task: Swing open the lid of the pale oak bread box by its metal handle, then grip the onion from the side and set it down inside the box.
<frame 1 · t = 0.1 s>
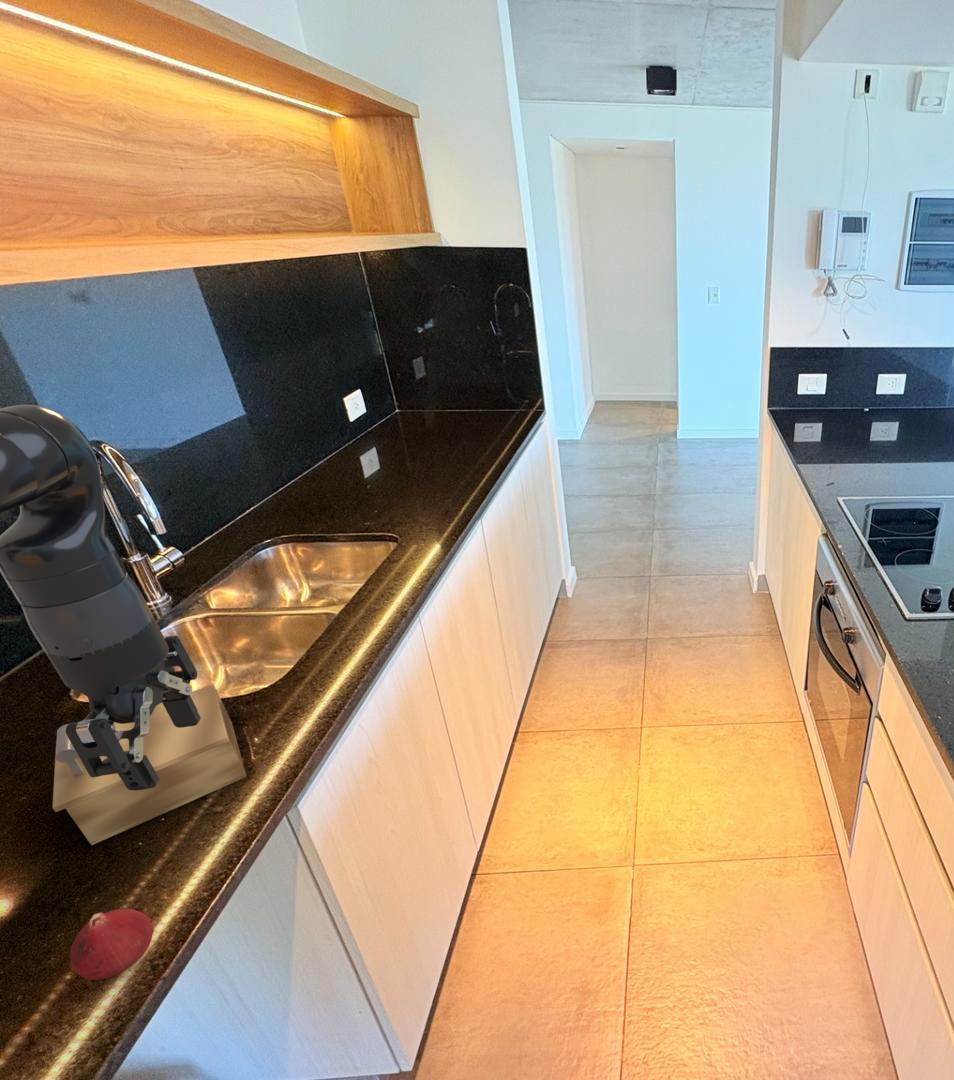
hand: (168, 753, 64), 18 cm above the worktop, tool pointing down, fingers open, 8 cm apart
onion: (129, 965, 63), on the worktop
lid: (136, 728, 79), point 9 cm above the worktop, hinge at 0.0°
breadbox: (169, 778, 83), on the worktop
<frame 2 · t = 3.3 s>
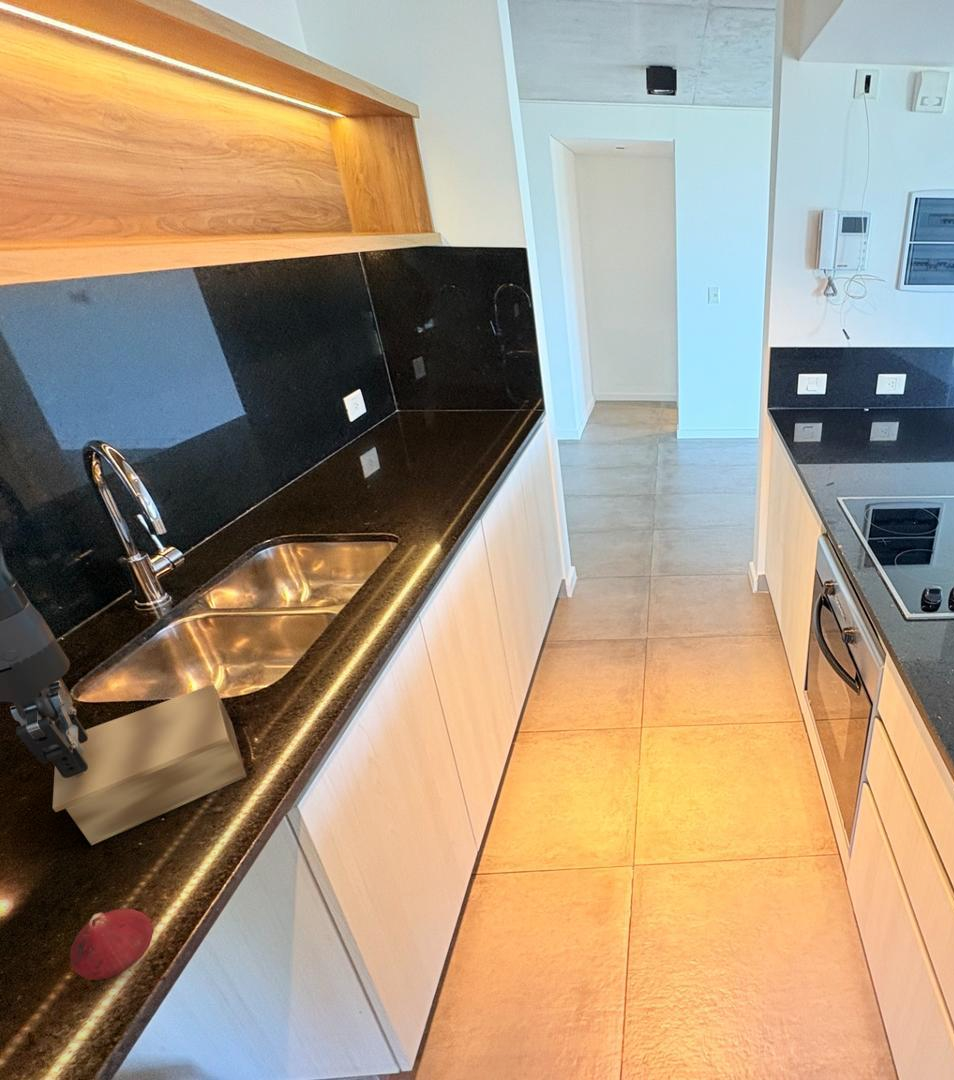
hand: (76, 757, 76), 9 cm above the worktop, tool pointing down, fingers closed on lid, 5 cm apart
lid: (136, 728, 79), point 9 cm above the worktop, hinge at 0.0°, touching gripper
everything else where it was.
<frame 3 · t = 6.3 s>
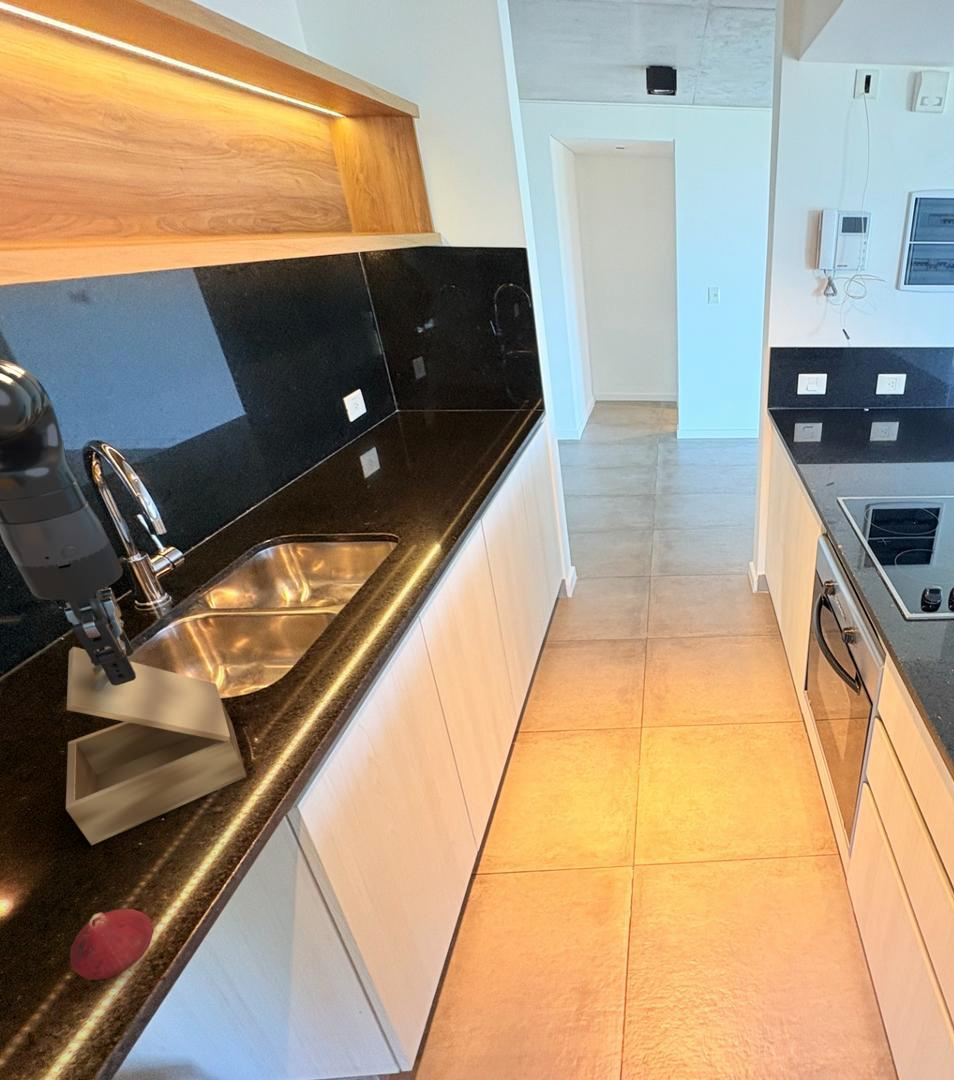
hand: (123, 668, 75), 18 cm above the worktop, tool pointing down, fingers closed on lid, 5 cm apart
lid: (162, 681, 79), point 15 cm above the worktop, hinge at 48.4°, touching gripper
everything else where it was.
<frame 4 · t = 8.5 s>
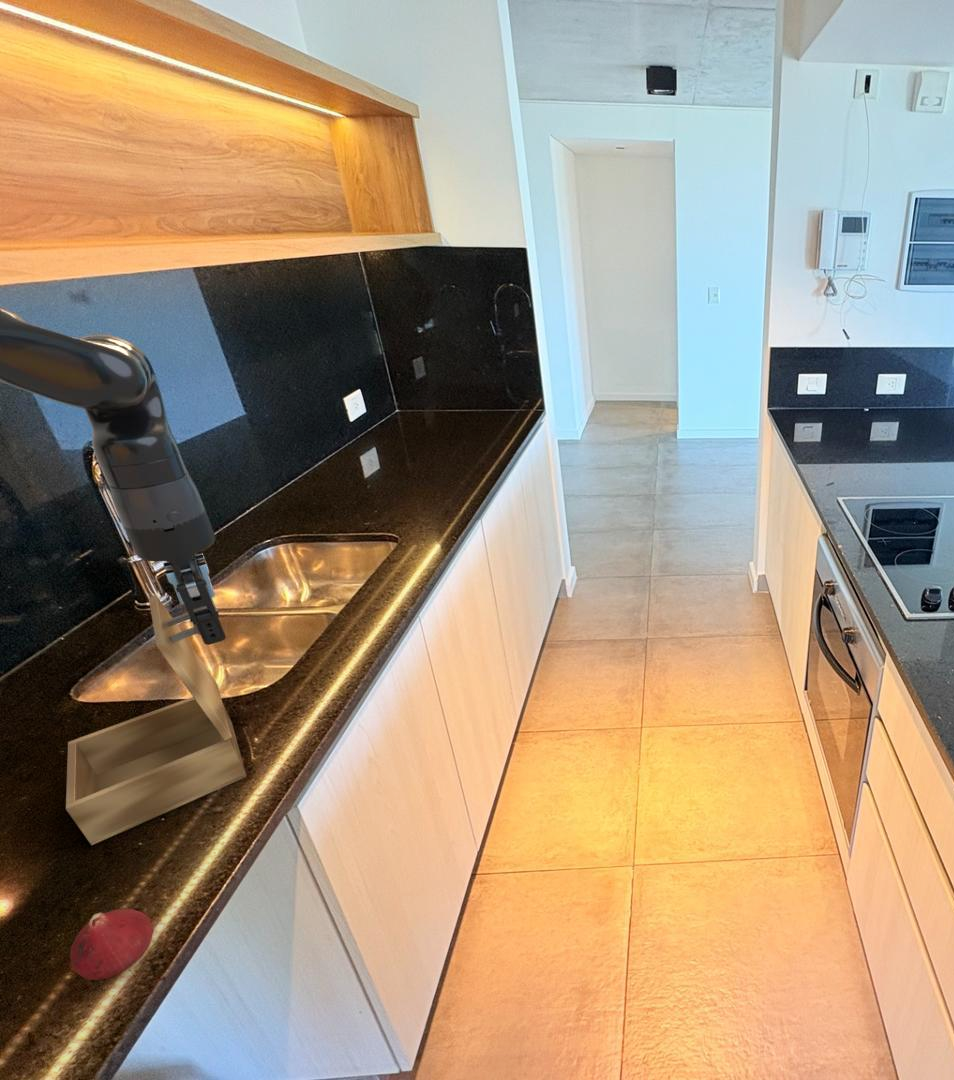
hand: (212, 630, 80), 20 cm above the worktop, tool pointing down, fingers closed on lid, 5 cm apart
lid: (209, 659, 81), point 16 cm above the worktop, hinge at 83.9°, touching gripper
everything else where it was.
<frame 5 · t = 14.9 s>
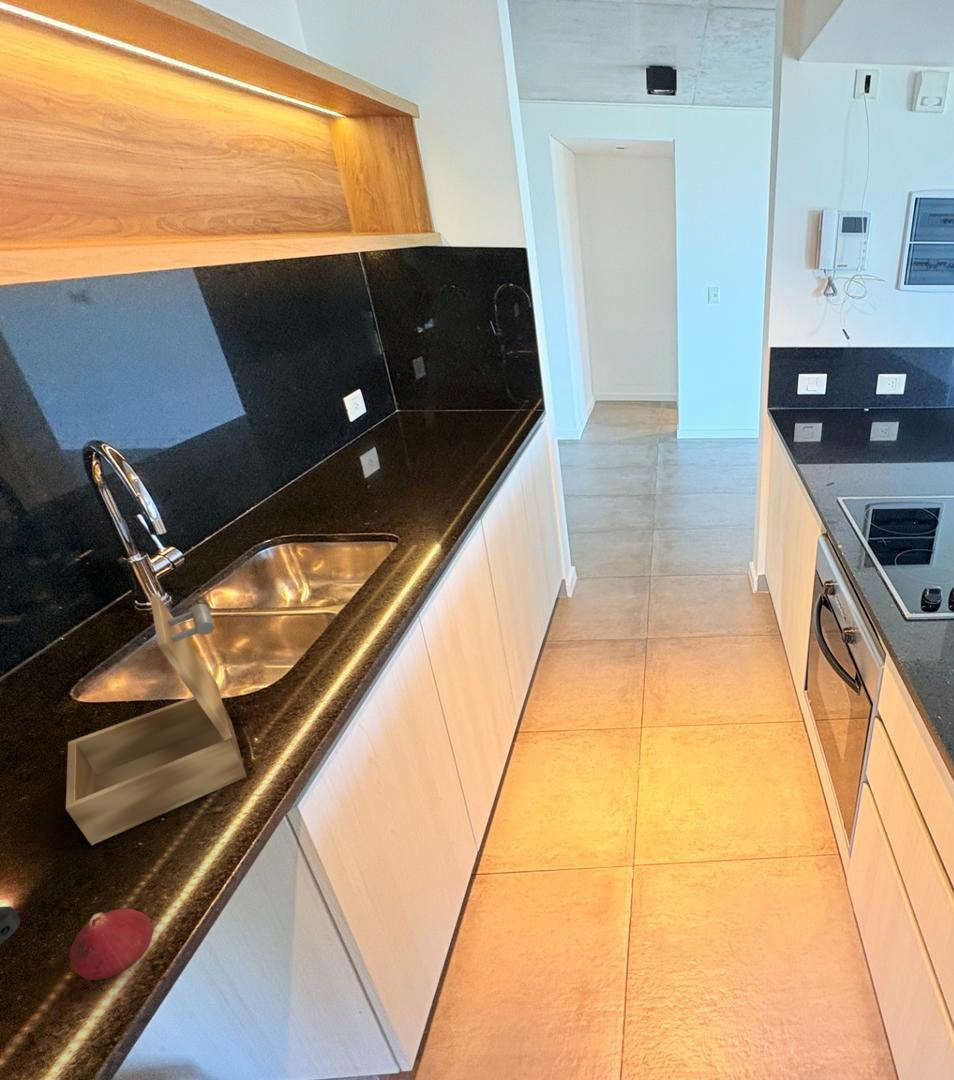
lid: (210, 659, 81), point 16 cm above the worktop, hinge at 84.4°
everything else where it was.
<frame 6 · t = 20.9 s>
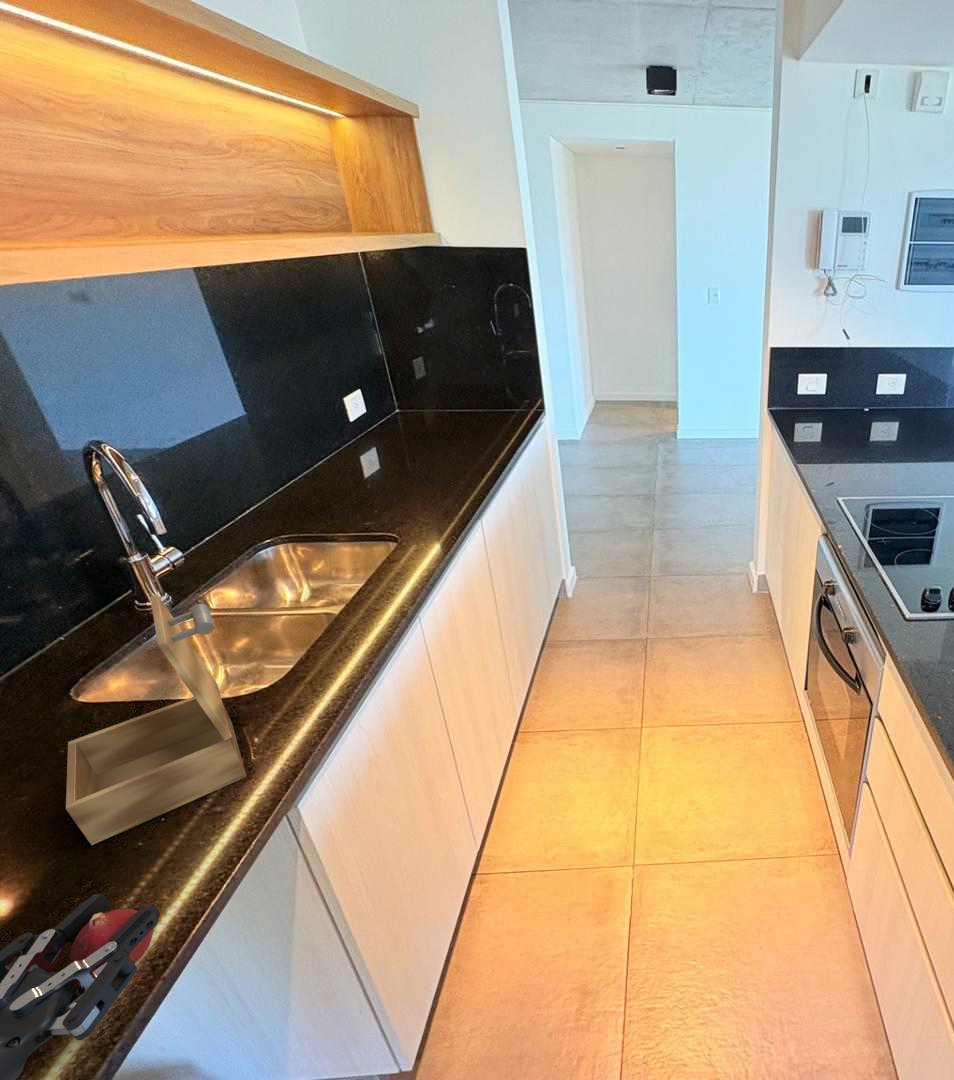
hand: (128, 904, 62), 6 cm above the worktop, tool horizontal, fingers closed on onion, 5 cm apart
onion: (129, 965, 63), on the worktop, touching gripper
everything else where it was.
when the fingers open (11 cm above the worktop, at t = 30.1 s): onion drops 3 cm, resting on breadbox.
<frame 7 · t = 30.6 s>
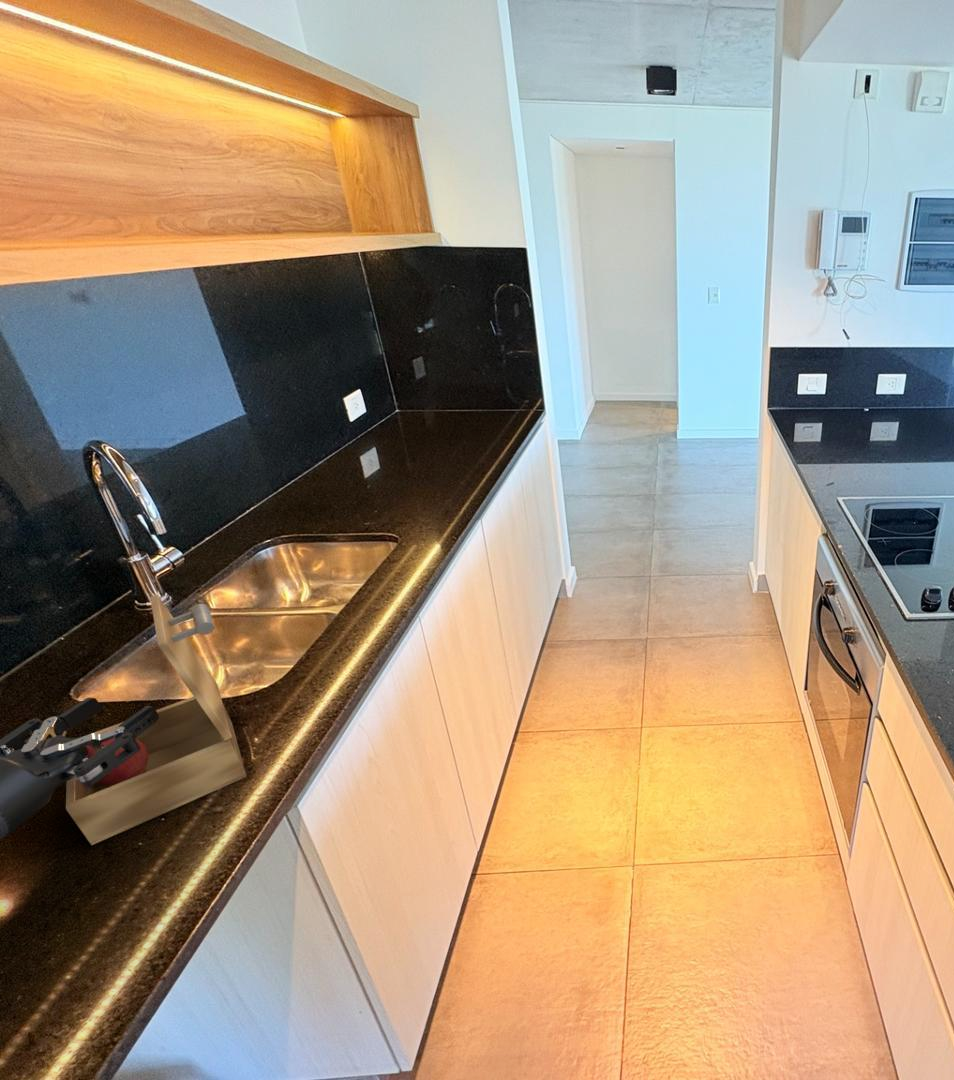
hand: (124, 706, 78), 12 cm above the worktop, tool horizontal, fingers open, 8 cm apart
onion: (143, 778, 81), point 1 cm above the worktop, touching breadbox
everything else where it was.
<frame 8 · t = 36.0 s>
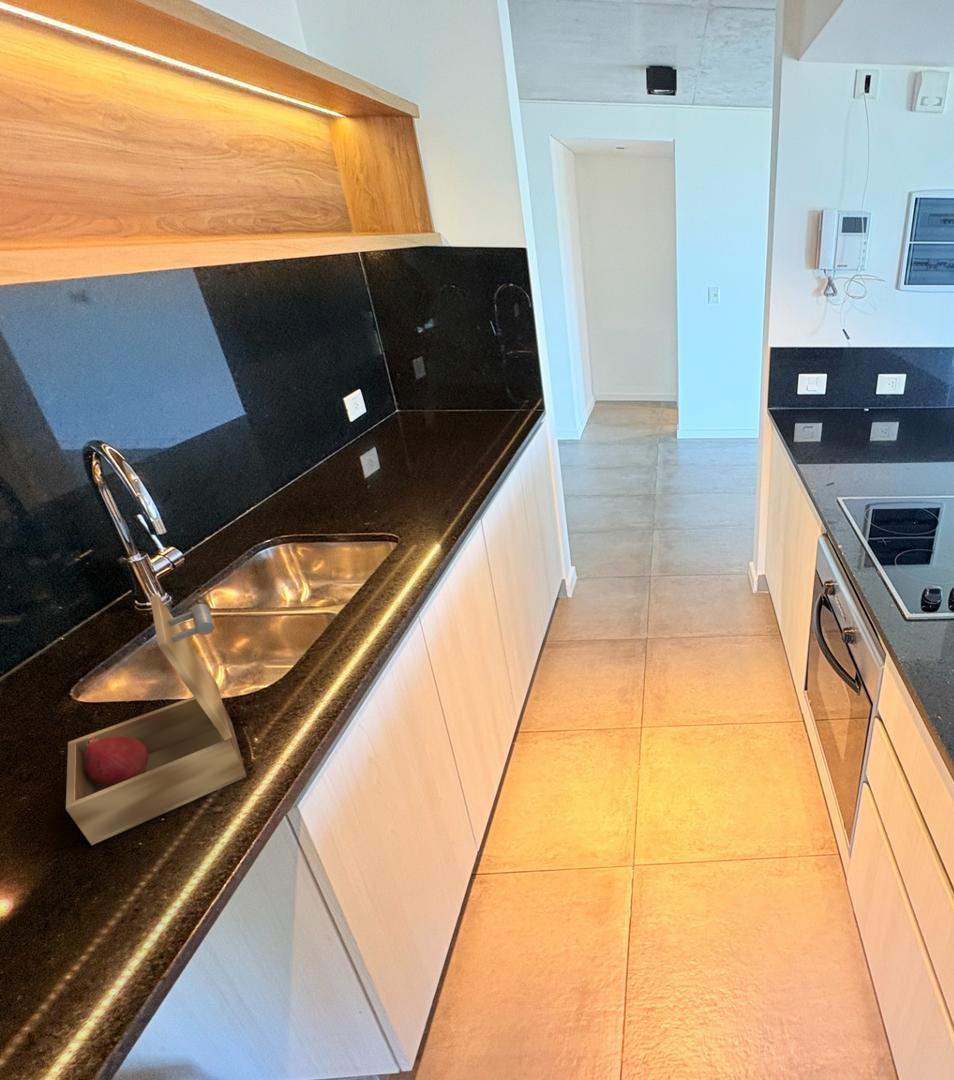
nothing on the worktop moved.
at the end: lid at +84° (first picture: +0°); onion inside the target area in the breadbox (2.2 cm from its centre), point 1.5 cm above the breadbox's base; the gripper is holding nothing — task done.
